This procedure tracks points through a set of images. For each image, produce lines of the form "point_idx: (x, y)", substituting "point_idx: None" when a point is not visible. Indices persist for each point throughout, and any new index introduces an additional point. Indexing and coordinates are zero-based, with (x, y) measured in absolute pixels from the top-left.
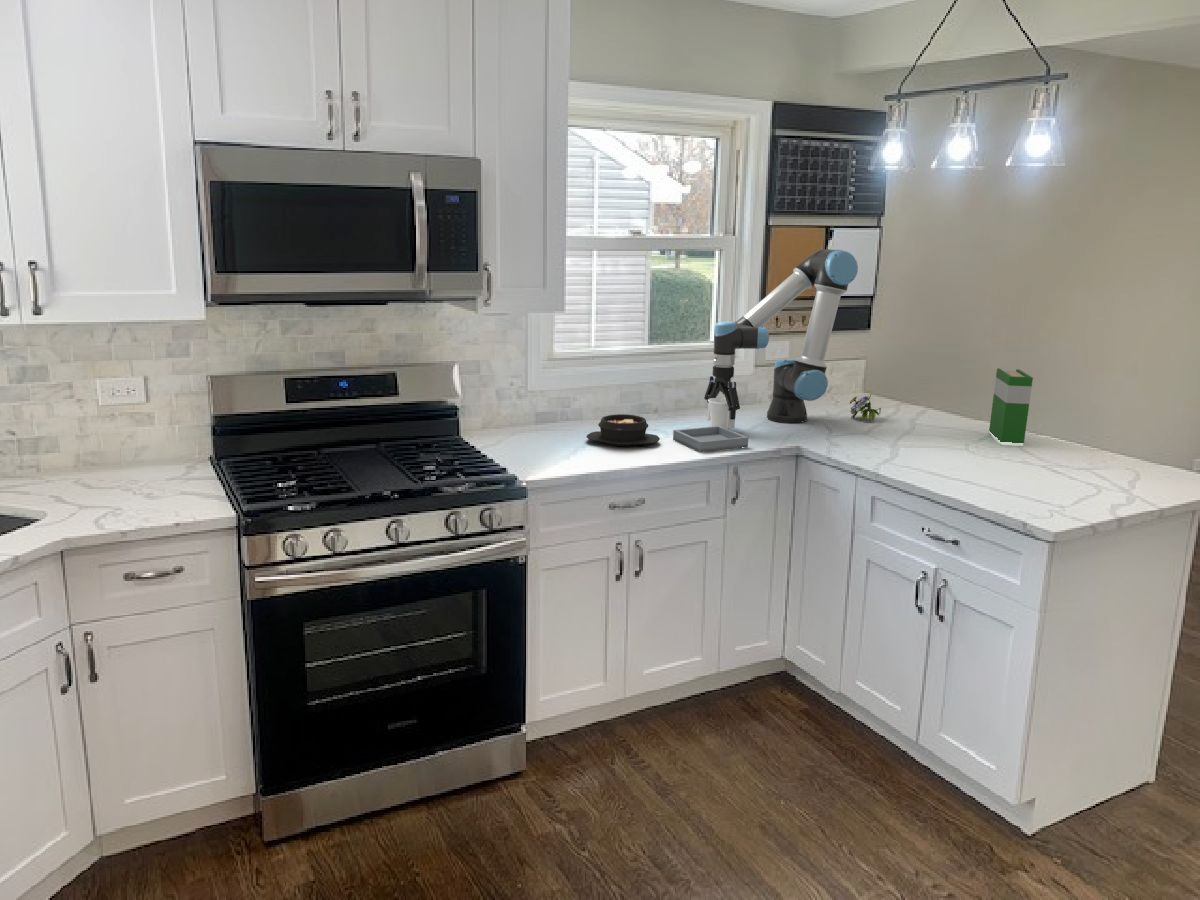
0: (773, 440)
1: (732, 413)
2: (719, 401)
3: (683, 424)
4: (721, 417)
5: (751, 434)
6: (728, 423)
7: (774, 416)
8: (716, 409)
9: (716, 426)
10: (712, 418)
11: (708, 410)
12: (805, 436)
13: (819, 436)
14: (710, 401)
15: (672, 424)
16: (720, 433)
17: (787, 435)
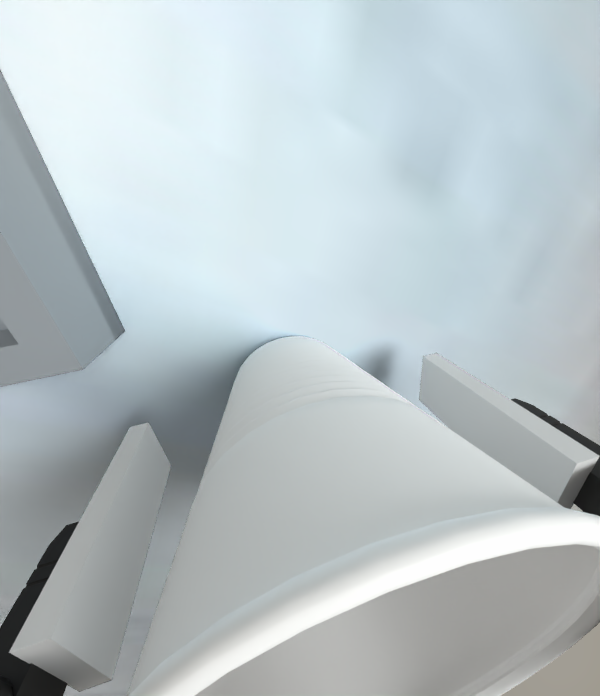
0: (2, 581)
1: (6, 625)
2: (508, 583)
3: (522, 189)
4: (210, 453)
5: (161, 510)
6: (113, 462)
7: None
8: (218, 492)
9: (33, 329)
10: (290, 369)
11: (490, 400)
12: (119, 656)
13: (121, 681)
14: (398, 578)
15: (573, 82)
16: (7, 331)
17: (137, 617)
